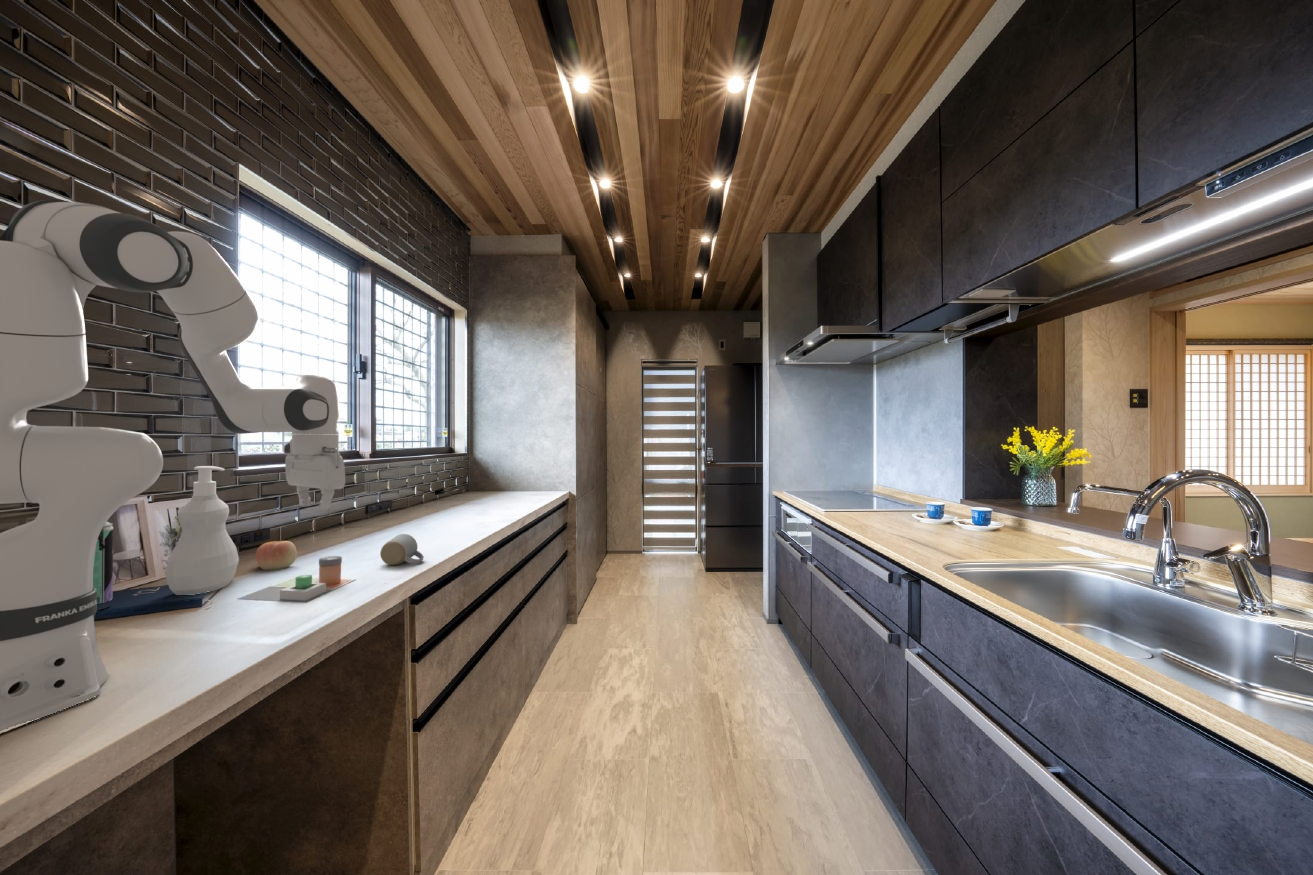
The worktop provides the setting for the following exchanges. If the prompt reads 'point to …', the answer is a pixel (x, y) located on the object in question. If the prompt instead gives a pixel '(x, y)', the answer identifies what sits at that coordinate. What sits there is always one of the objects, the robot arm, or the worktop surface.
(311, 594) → the colouring board
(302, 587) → the button
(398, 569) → the worktop surface
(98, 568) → the spray can
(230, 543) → the soap bottle
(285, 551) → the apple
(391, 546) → the ceramic mug
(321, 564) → the orange jar
